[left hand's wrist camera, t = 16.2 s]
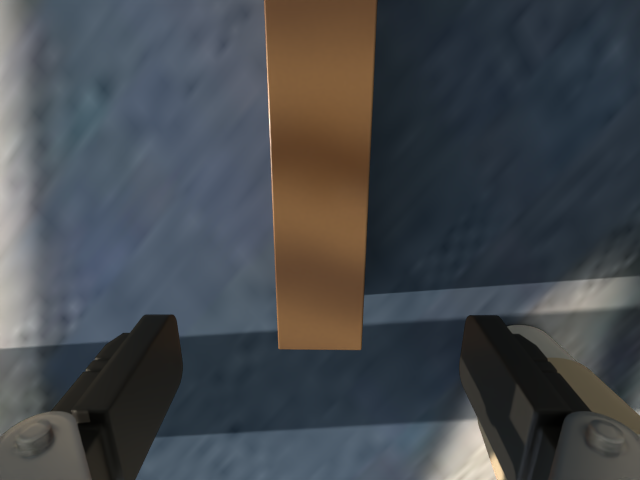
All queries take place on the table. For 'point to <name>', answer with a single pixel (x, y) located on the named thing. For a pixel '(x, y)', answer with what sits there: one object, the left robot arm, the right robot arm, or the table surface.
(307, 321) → the bar
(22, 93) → the table surface
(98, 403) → the left robot arm
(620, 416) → the coffee cup
